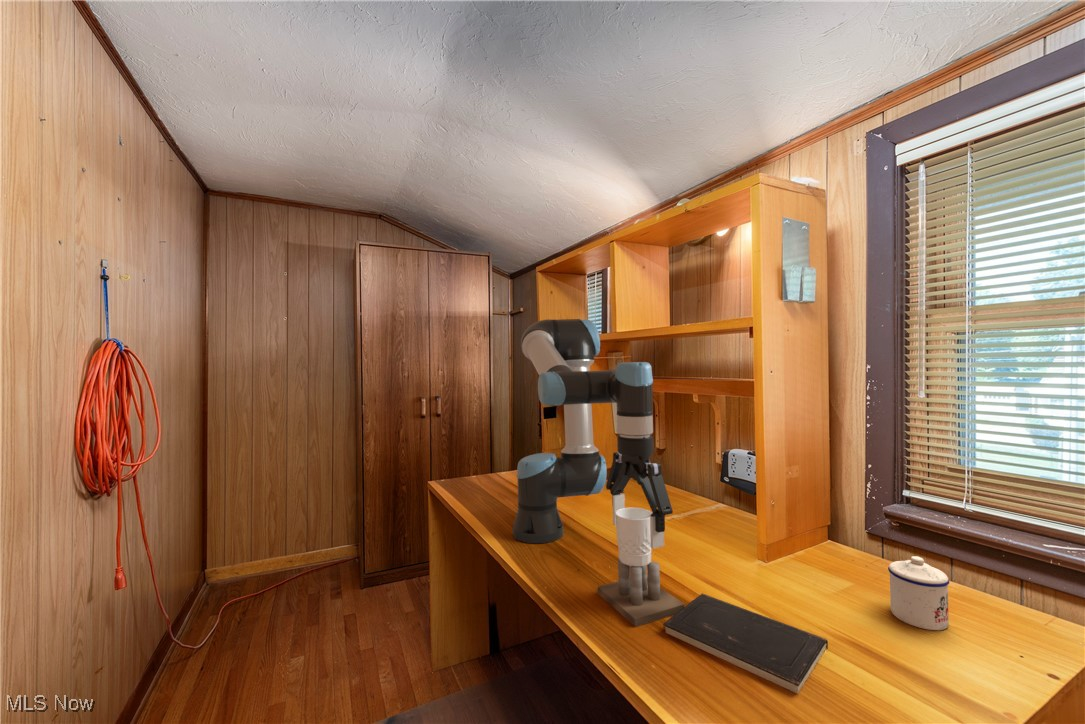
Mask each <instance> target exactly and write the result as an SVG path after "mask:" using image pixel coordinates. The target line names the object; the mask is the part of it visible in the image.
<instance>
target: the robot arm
mask: <svg viewBox="0 0 1085 724" xmlns="http://www.w3.org/2000/svg"><path fill="white" fill-rule="evenodd" d="M520 347H521V348H520V349H521V352H522V354H523V355H524V356H525V357H526V359H528V360H530V361H531V363H532V364H533V366H534V369H535V370H536V372H537V374H538V375H539V376H538V379H537V395H538V400H539V401H540V404H541V405H544V406H554V407H555V406H556V407H559V406H563V411H564V413H563V415H564V416H563V417H564V434H565V435H564V436H565V437H564V438H565V445H564V447H563V448H562V449H561V450H560V455H561V456H560V457H557V456H556V454H555V453H552V452H540V453H539V452H538V453H534V454H531V455H527V456H524V457H523V458H521V459H520V460H519V461H518V463H517V468H516V469H517V470H516V472H517V473H516V478H517V512H516V516H515V517H514V518H515V519H514V522H513V526H512V536H513V538H514V539H515V540H516V541H520V542H523V543H526V544H527V543H528V544H546V543H551V542H554V541H557V540H559V539H561V538H562V537H563V536H564V524H563V521H562V518H561V516H560V513H559V510H558V505H557V504H558V498H567V497H579V496H585V497H588V496H590V495H591V496H592V495H596V494H599V493H601V492H602V491H603V490H604V487H605V488H606V490H609V493H610V494H611V496H612V497H611V498H612V499H611V500H612V501H611V502H612V503H611V504H612V525H614V526H616V516H615V512H616V511H617V510H619V509H622V508H626V506H625V505H626V504H625V503H626V499H625V495H626V494H624V493H625V488H626V486H627V484H628V483H629V482H630V480H631V479H632V480H634V481H635V482H636V483H637V485H639V486H640V487H641V489H642V491H643V494H644V496H645V498H646V500H647V503H648V506H649V507H650V509H651V512H652V514H650V538H651V548H652V549H658V548H662V547H665V531H666V527H665V526H666V516H667V515H672V514H673V507H672V504H671V501H670V497H669V494H668V491H667V487H666V485H665V481H664V478H663V474H662V465H661V463H660V462H655V463H652V462H651V460H650V459H651V458H650V457H651V455H653V454H654V451H655V450H654V437H653V436H652V435H653V433H654V423H653V422H654V418H653V415H654V413H653V409H654V407H653V406H654V404H653V403H654V402H653V400H654V398H653V396H654V395H653V394H654V393H653V391H654V390H653V386H654V379H653V378H654V377H653V371H652V364H650V363H649V362H647V361H638V362H637V361H633V362H632V361H631V362H630V361H628V362H627V361H626V362H619V363H617V364H616V366H615V367H616V368H615V369H607V370H591V368H590V367H591V366H592V365H593V363H595V357H596V356H598V355H599V354H600V352H601V349H600V347H601V339H600V333H599V331H598V328H597V326H596V324H595V322H593V321H592V320H590V319H580V318H575V319H574V318H572V319H571V318H569V319H568V318H566V319H564V318H563V319H561V318H560V319H551V318H550V319H542V320H538V321H536V322H534V323H532V324H531V325H529V326H528V327H527V329H525V331H524V332H523V333H522V336H521V338H520ZM592 404H616V432H617V434H618V436H617V437H616V439H617V440H616V441H617V445H616V446H617V452H616V451H615V452H613V453H612V464H611V467H610V470H609V475H608V476H607V474H608V473H607V471H608V468H607V464H606V463H607V462H606V458H605V456H604V455H602V454H600V450H599V448H598V447H596V446H595V444H594V429H593V408H592ZM607 477H608V478H607ZM646 477H647V478H646Z"/></svg>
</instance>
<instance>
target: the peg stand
mask: <svg viewBox="0 0 1085 724" xmlns="http://www.w3.org/2000/svg"><path fill="white" fill-rule="evenodd" d="M617 568H618V569H617V571H618V573H617V576H618V581H615V582H611V583H607V584H602V585H599V586H597V594H598V595H599V596H600V597H601V598H602V599H603V600H605V602H606V603H608V604H609V605H610V606H611V607H612V608H613V609H614V610H616V611H617V612H618V613H619V614H620V615H621V616H622V617H623V618H625V619H626V620H627V621H628V622H629V623H630V624H631V625H632V626H634V627H635V628H637V627H640V626H644V625H646V624H649V623H652V622H655V621H659V620H662V619H666V618H669V617H673V616H674V615H675V614H676V613H678V612H679V611H680V610H681V609H683V608H684V607H685V603H683V602H681V600H679V599H678V598H676V597H675V596H673V595H672V594H670V593H668V592H667V591H666V590H664V589H663V588H662V587H661V585H660V584H661V583H660V581H661V580H660V563H659V562H656V561H651V562H650V563H649V564H648V565H645V566H639V567H638V566H636V567H635V566H629V565H626V564H624V563H622V562H621V561H620V560H619V558H617Z"/></svg>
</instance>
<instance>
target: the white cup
mask: <svg viewBox="0 0 1085 724" xmlns="http://www.w3.org/2000/svg"><path fill="white" fill-rule="evenodd" d="M652 513H653V512H652V510H651V511H650V509H649V510H648V509H646V508H642V507H625V508H622V509H619V510H617V511H616V512H615V516H616V525H615V528H616V538H617V547H618V559H619V560H620V561H621V562H622V563H624V564H626V565H629V566H630V567H631V566H635V567H636V566H638V567H639V566H645V565H648V564H649V563H650V562H652V549H653V548H651V538H650V514H652Z"/></svg>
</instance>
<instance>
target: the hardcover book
mask: <svg viewBox="0 0 1085 724" xmlns="http://www.w3.org/2000/svg"><path fill="white" fill-rule="evenodd" d="M662 624H663V625H662V626H663V627H665V633H666V634H668V635H670V636H672V637H675V638H676V639H679V640H680V641H683V642H685V643H688V644H689V645H691V646H694V647H695V648H698V649H700V650H702V651H704V652H707V653H709V654H711V655H713V656H715V657H717V658H720V659H722V660H724V661H726V662H728V663H730V664H732V665H734V666H736V667H739V668H742V669H743V670H746V671H748V672H749V673H752V674H754V675H756V676H757V677H760V678H762V679H765V680H767V681H769V682H771V683H773V684H776V685H778V686H780V687H783V689H786V690H788V691H791V692H792V693H794V694H799V692H800V690H802V688H803V686H804V684H805V682H806V681H807V679H808V678H809V676H810V675H811V673H812V671H813V670H814V668H815V667H816V665H817V664H818V661H819V660H820V659H821V657H822V655H823V653H824V652H825V650H826V649H828V648H829V647H828V646H829V643H828V642H829V641H828V639H827V638H825V637H823V636H819V635H817V634H814V633H812V632H809V631H806V630H804V629H803V630H802V629H800V628H798V627H795V626H793V625H789V624H786V623H784V622H782V621H778V620H776V619H773V618H770V617H767V616H764V615H762V614H759V613H757V612H754V611H751V610H749V609H745V608H743V607H741V606H738V605H735V604H732V603H731V602H728V601H724V600H722V599H718V598H716V597H713V596H711V595H708V594H705V593H703V592H702V593H701V594H699V595H698V596H696V598H694V599H693V600H691V602H689V603H688V604H687V605H684V608H683V609H681V610H680V611H679V612H678V613H676V614H675V615H672V616H670V618H669V619H667V620H666V621H665V622H664V623H662Z"/></svg>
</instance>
